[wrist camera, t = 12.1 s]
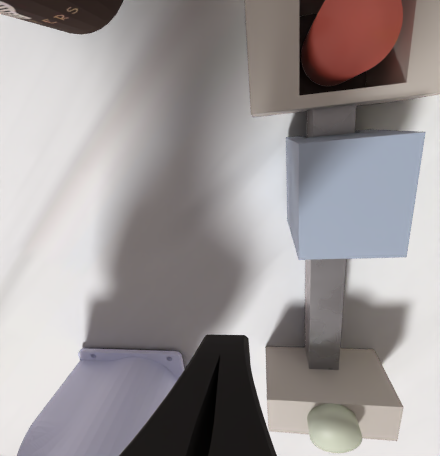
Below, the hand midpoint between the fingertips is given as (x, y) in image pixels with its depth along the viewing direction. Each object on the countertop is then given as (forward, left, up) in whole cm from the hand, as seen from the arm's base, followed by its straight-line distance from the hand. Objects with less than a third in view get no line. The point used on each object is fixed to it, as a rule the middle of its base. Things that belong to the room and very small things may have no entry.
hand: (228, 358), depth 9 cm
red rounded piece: (+5, +10, -9) cm, 14 cm away
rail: (+5, -1, -10) cm, 12 cm away
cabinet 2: (+5, -11, -10) cm, 16 cm away
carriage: (+5, +4, -10) cm, 12 cm away
